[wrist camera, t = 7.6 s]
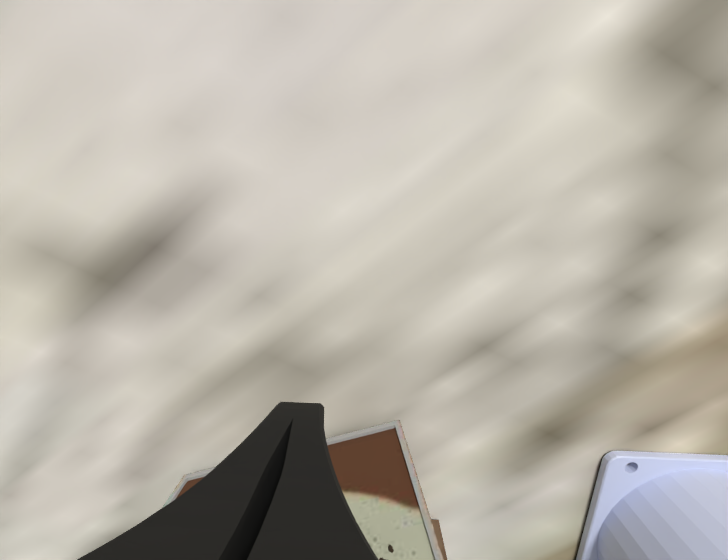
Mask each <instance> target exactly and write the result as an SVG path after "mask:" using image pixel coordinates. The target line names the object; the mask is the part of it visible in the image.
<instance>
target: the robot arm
mask: <svg viewBox="0 0 728 560" xmlns="http://www.w3.org/2000/svg"><path fill="white" fill-rule="evenodd" d="M628 463H629V464H628ZM627 464H628V465H627ZM77 560H378V558H377V556H376V555H375V553H374V552H373V550H372V548H371V547H370V545H369V543H368V541H367V540H366V538H365V536H364V534H363V532H362V531H361V529H360V527H359V525H358V524H357V522H356V520H355V518H354V516H353V514H352V512H351V510H350V507H349V505H348V503H347V501H346V499H345V496H344V494H343V492H342V489H341V487H340V484H339V482H338V479H337V476H336V473H335V470H334V467H333V464H332V461H331V458H330V454H329V450H328V446H327V442H326V438H325V432H324V407H323V406H322V405H321V404H320V403H295V402H280V403H279V404H278V405H277V406H276V407H275V408H274V409H273V410H272V411H271V412H270V413H269V415H268V416H267V417H266V418H265V419H264V420H263V421H262V422H261V423H260V424H259V425H258V427H257V428H256V429H255V430H254V431H253V432H252V433H251V434H250V435H249V436H248V437H247V438H246V439H245V440H244V441H243V442H242V443H241V444H240V445H239V446H238V447H237V448H236V449H235V450H234V451H233V452H232V453H231V454H230V455H228V456H227V457H226V458H225V459H224V460H223V461H222V462H221V463H220V464H219V465H217V466H216V467H215V468H214V469H213V470H212V471H211V472H210V473H208V474H207V475H206V476H205V477H204V478H202V479H201V480H200V481H199V482H197V483H196V484H195V485H194V486H192V487H191V488H190V489H189V490H187V491H186V492H185V493H183V494H182V495H181V496H179V497H178V498H177V499H175V500H174V501H172V502H171V503H169V504H168V505H166V506H165V507H163V508H162V509H160V510H159V511H157V512H156V513H154V514H153V515H151V516H150V517H148V518H147V519H145V520H144V521H142V522H141V523H139V524H138V525H136V526H135V527H133V528H131V529H130V530H128V531H126V532H125V533H123V534H121V535H120V536H118V537H116V538H115V539H113V540H111V541H110V542H108V543H106V544H104V545H103V546H101V547H99V548H97V549H96V550H94V551H92V552H90V553H88V554H87V555H85V556H83V557H81V558H79V559H77ZM576 560H728V455H709V454H685V453H661V452H637V451H611V452H609V453H607V454H606V455H605V456H604V457H603V459H602V462H601V466H600V470H599V473H598V477H597V481H596V485H595V489H594V493H593V496H592V500H591V504H590V508H589V512H588V516H587V519H586V523H585V527H584V531H583V535H582V538H581V542H580V546H579V550H578V554H577V558H576Z"/></svg>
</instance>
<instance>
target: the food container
mask: <svg viewBox="0 0 728 560" xmlns="http://www.w3.org/2000/svg"><path fill="white" fill-rule="evenodd" d="M326 442H327V446H328V450H329V454H330V458H331V461H332V464H333V467H334V470H335V473H336V476H337V479H338V482H339V484H340V487H341V489H342V492H343V494H344V496H345V499H346V501H347V503H348V505H349V507H350V510H351V512H352V514H353V516H354V518H355V520H356V522H357V524H358V525H359V527H360V529H361V531H362V532H363V534H364V536H365V538H366V540H367V541H368V543H369V545H370V547H371V548H372V550H373V552H374V553H375V555H376V556H377V558H378V560H444V559H443V556H442V553H441V550H440V546H439V543H438V540H437V537H436V534H435V531H434V527H433V524H432V521H431V518H430V515H429V512H428V509H427V505H426V502H425V499H424V496H423V493H422V490H421V486H420V483H419V480H418V477H417V474H416V471H415V467H414V464H413V461H412V458H411V455H410V452H409V448H408V445H407V442H406V439H405V436H404V433H403V430H402V426H401V423H400V420H397V421H393V422H389V423H385V424H381V425H377V426H373V427H370V428H366V429H362V430H358V431H354V432H350V433H346V434H342V435H338V436H334V437H331V438H327V439H326ZM214 468H215V467H214ZM214 468H210V469H206V470H202V471H198V472H194V473H190V474H186V475H184V476H183V478H182V479H181V481H180V482H179V484H178V485H177V487H176V488H175V490H174V491H173V493H172V494H171V496H170V497H169V499H168V500H167V502H166V503H165V505H164V506H163V507H165V506H166V505H168V504H169V503H171V502H172V501H174V500H175V499H177V498H178V497H179V496H181V495H182V494H183V493H185V492H186V491H187V490H189V489H190V488H191V487H192V486H194V485H195V484H196V483H197V482H199V481H200V480H201V479H202V478H204V477H205V476H206V475H207V474H208V473H210V472H211V471H212V470H213V469H214ZM163 507H162V508H163Z"/></svg>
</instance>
